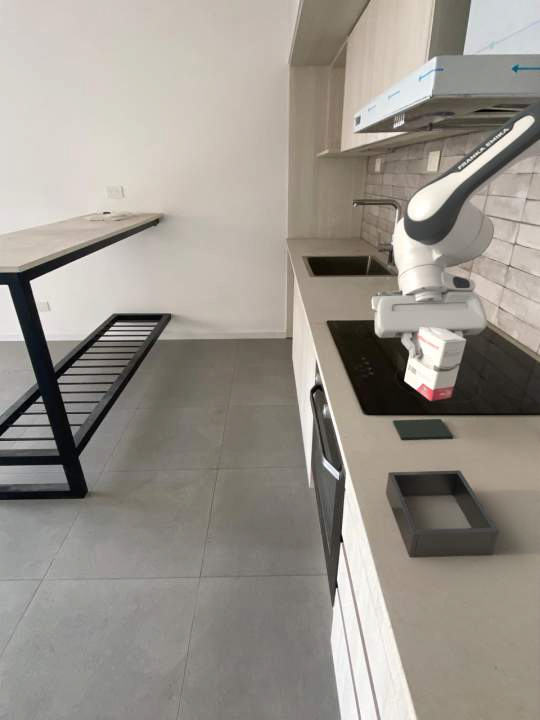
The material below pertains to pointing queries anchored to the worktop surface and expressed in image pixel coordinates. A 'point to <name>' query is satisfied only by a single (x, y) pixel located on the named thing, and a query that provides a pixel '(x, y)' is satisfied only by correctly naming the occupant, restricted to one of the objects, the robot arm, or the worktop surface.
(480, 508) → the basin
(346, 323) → the worktop surface
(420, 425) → the mat
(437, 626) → the worktop surface
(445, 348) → the ink box
